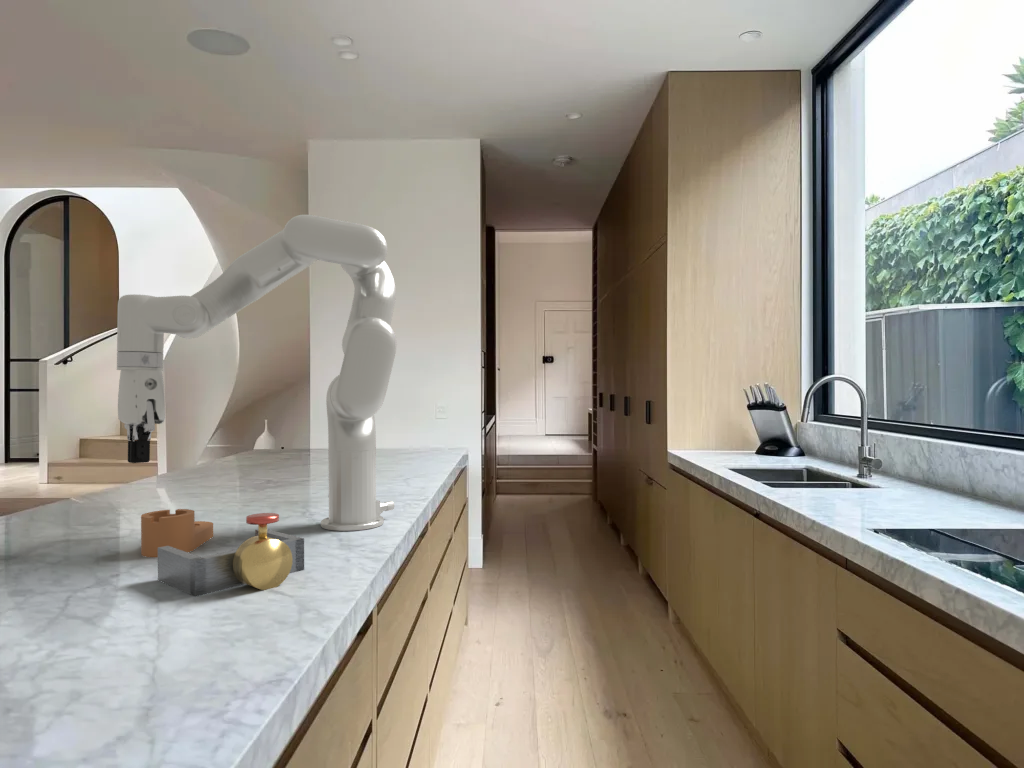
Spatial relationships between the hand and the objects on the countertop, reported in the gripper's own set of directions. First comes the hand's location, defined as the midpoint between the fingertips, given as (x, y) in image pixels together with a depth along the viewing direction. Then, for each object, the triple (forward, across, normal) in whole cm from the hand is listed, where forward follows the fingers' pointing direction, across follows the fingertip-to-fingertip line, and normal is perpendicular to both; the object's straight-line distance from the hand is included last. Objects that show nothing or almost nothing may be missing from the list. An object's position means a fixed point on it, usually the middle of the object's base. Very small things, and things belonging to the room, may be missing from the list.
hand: (138, 462), depth 124 cm
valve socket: (+15, -34, -1) cm, 37 cm away
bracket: (+15, -7, -4) cm, 18 cm away
